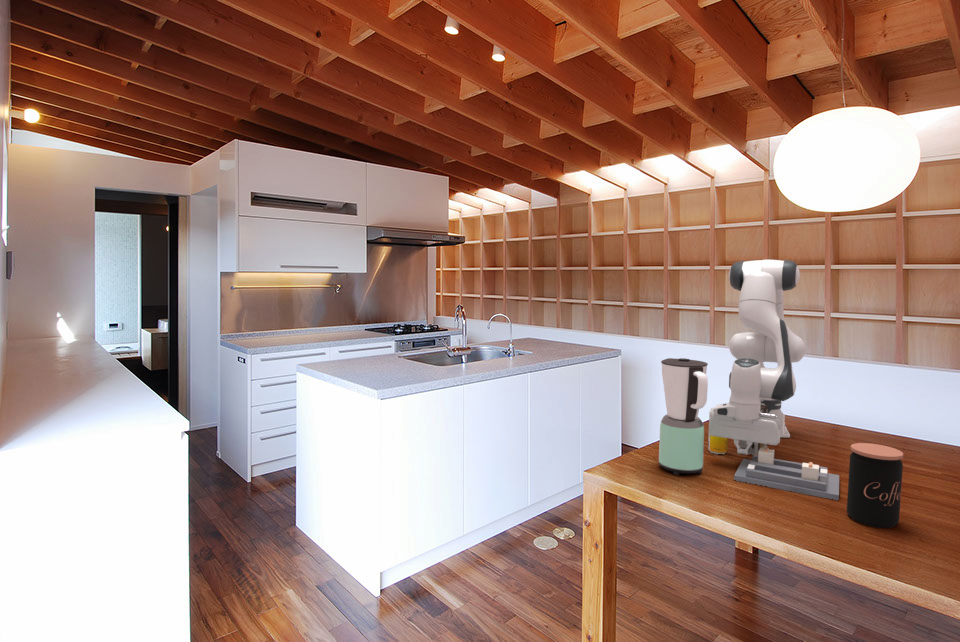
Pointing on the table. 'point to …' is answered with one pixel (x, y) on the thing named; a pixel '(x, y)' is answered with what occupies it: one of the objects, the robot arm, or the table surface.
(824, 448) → the table surface
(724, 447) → the beer can
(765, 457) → the tab
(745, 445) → the coffee box
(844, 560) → the table surface
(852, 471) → the coffee jar
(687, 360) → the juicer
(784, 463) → the switch bank
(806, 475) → the tab
